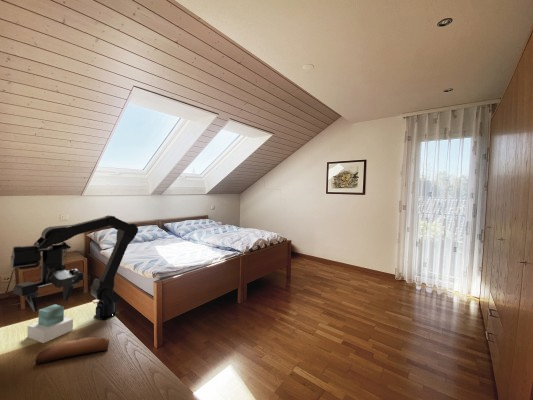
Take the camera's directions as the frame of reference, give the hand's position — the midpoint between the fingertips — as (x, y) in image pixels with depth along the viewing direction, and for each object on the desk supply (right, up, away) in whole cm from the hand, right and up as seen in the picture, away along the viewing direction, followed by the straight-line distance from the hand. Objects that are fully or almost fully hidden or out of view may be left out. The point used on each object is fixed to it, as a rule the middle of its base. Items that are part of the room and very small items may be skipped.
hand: (50, 306), depth 87 cm
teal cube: (0, -6, 0) cm, 6 cm away
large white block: (0, -10, 0) cm, 10 cm away
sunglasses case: (+16, -11, -9) cm, 22 cm away
